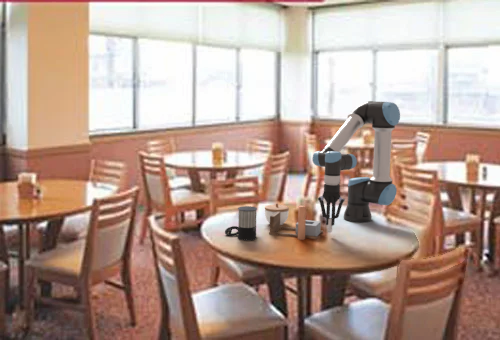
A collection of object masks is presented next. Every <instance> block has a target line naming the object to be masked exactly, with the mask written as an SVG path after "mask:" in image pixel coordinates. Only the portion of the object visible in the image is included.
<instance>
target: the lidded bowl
mask: <svg viewBox="0 0 500 340" xmlns="http://www.w3.org/2000/svg"><path fill="white" fill-rule="evenodd" d="M289 211H290V206H287V205H284V204H283V205H282V204H279V203H278V202H276V203H275V204H269V205H265V206H264V214H265V215H264V216H265V219H266V221H267V222H268V223H269V224H270V216H271V215H272V214H274V213H275V212H280V226H283V225H284V223H286V222H287V220H288V217H289V213H290V212H289Z"/></svg>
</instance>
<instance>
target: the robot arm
mask: <svg viewBox="0 0 500 340" xmlns="http://www.w3.org/2000/svg"><path fill="white" fill-rule="evenodd" d="M400 119H401V112H400V108H399V106H398V105H397V104H396V103H395V102H390V101H373V100H369V101H365V102H363V103H360V104H359V105H357V106H356V107H354V108H353V109H352V110H351V111H350V112H349V113H348V115H347V118H346V120H345V122H344V123H343V124H342V125H341V127H339V129H338V131H337V132H336V133H335V134H334V136H333V137H332V138H331V140H329V142H327V144H325V146H324V147H323V149H321V150H317V151H314V153H313V154H312V163H313V165H315V166H318V167H321V168H323V167H324V177H323V178H324V180H323V183H324V184H323V193H322V195H321V196H319V197H318V198H317V200H318V202H319V205H320V209H321V216H322V217H323V218H325V219H326V220H325V224H326V226H327V233H332V232H333V226H335V224H336V223H335V219H338V218H339V216H340V213H341V210H342V206H343V203H344V202H345V201H346V199H345V198H343V197H342V196H341V194H340V190H341V185H340V184H341V171H345V170H352V169H354V168H356V166H357V164H358V160H357V157H356V156H355V154H352V153H341V151H342V150H343V149H344V147H346V145H347V144H348V143H349V141H350V140H351V139H352V138H353V136H354V135H355V133H357V131H358V130H359V129H361V128H363V127H364V126H365V125H366V124H371V128H372V129H373V130H374V145H373V163H372V164H373V167H372V176H371V177H369V176H365V177H364V176H362V177H361V176H360V177H352V178H349V180H348V182H347V183H348V184H347V205H346V207H345V210H344V213H343V220H345V221H348V222H353V223H356V222H357V223H366V222H367V223H368V222H371V221H372V219H373V218H372V217H373V216H372V211H371V209H370V204H375V205H380V206H389V205H391V204H392V203H393V202H394V200H395V199H396V196H397V186H396V185H395V184H394V183H393V178H392V177H390V173H391V172H390V171H391V155H392V154H391V152H392V132H393V131H394V130H395V127H396V126H397V125H398V124H399V122H400ZM324 201H325V202H326V207H325V202H324ZM337 202H339V203H338V207H337V210H336V204H337Z"/></svg>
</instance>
